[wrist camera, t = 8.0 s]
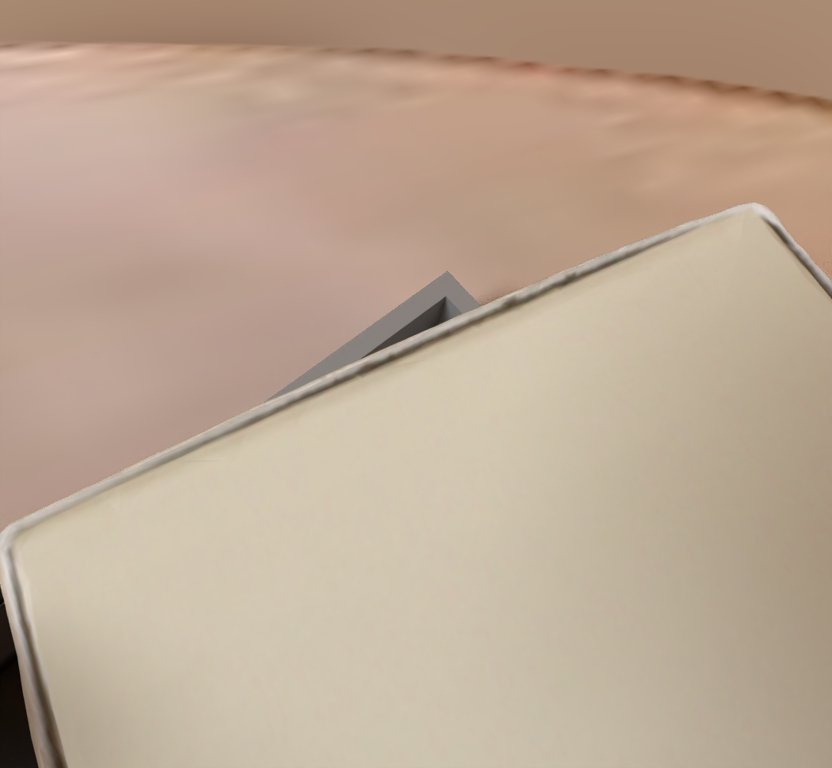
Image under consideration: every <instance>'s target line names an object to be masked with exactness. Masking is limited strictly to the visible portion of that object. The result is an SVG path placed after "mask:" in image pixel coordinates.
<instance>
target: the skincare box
mask: <svg viewBox="0 0 832 768" xmlns="http://www.w3.org/2000/svg"><path fill="white" fill-rule="evenodd" d="M0 585H1V590H2V594H3V598H4V602H5V606H6V611H7V615H8V619H9V623H10V628H11V632H12V636H13V640H14V644H15V648H16V652H17V656H18V662H19V669H20V676H21V683H22V689H23V695H24V700H25V705H26V711H27V716H28V722H29V727H30V732H31V738H32V742H33V746H34V750H35V754H36V759H37V763H38V767H39V768H832V281H831V280H830V279H829V277H828V276H827V275H826V274H825V273H824V272H823V271H822V270H821V269H820V268H819V267H818V266H817V265H816V264H815V263H814V262H813V261H812V259H811V258H810V257H809V255H808V254H807V253H806V252H805V251H804V250H803V249H802V248H801V247H800V246H799V245H798V244H797V243H796V242H795V240H794V239H793V238H792V237H791V235H790V234H789V233H788V232H787V230H786V229H785V227H784V226H783V225H782V223H781V222H780V220H779V219H778V217H777V216H776V215H775V214H774V213H773V212H772V211H771V210H770V209H769V208H768V207H767V206H765V205H762V204H758V203H755V202H751V203H746V204H741V205H736V206H733V207H731V208H728V209H725V210H723V211H720V212H717V213H715V214H712V215H709V216H707V217H703V218H700V219H697V220H693V221H690V222H686V223H684V224H682V225H679V226H677V227H675V228H672V229H669V230H667V231H664V232H662V233H659V234H656V235H654V236H651V237H648V238H645V239H642V240H639V241H636V242H634V243H631V244H629V245H626V246H624V247H622V248H619V249H617V250H615V251H612V252H609V253H606V254H603V255H601V256H598V257H596V258H594V259H591V260H589V261H586V262H584V263H582V264H579V265H577V266H574V267H572V268H569V269H565V270H563V271H560V272H558V273H556V274H554V275H552V276H549V277H547V278H545V279H543V280H541V281H538V282H536V283H533V284H531V285H529V286H526V287H524V288H522V289H519V290H517V291H515V292H512V293H510V294H507V295H505V296H503V297H500V298H498V299H496V300H494V301H492V302H490V303H488V304H486V305H484V306H481V307H479V308H476V309H474V310H471V311H469V312H466V313H464V314H461V315H459V316H456V317H454V318H452V319H450V320H448V321H446V322H444V323H442V324H440V325H437V326H435V327H433V328H430V329H428V330H426V331H423V332H421V333H419V334H416V335H414V336H412V337H410V338H407V339H405V340H403V341H401V342H398V343H396V344H394V345H391V346H389V347H387V348H385V349H382V350H380V351H378V352H376V353H373V354H371V355H369V356H367V357H364V358H362V359H360V360H358V361H355V362H353V363H351V364H349V365H347V366H344V367H342V368H340V369H338V370H335V371H333V372H331V373H329V374H327V375H324V376H322V377H320V378H318V379H316V380H314V381H312V382H309V383H307V384H305V385H303V386H301V387H299V388H297V389H295V390H292V391H290V392H288V393H286V394H283V395H281V396H279V397H276V398H274V399H272V400H270V401H267V402H265V403H263V404H261V405H259V406H256V407H254V408H252V409H250V410H248V411H245V412H243V413H241V414H239V415H237V416H235V417H233V418H231V419H229V420H227V421H224V422H222V423H220V424H218V425H216V426H214V427H212V428H210V429H208V430H206V431H204V432H202V433H200V434H198V435H196V436H194V437H192V438H190V439H188V440H186V441H184V442H181V443H179V444H177V445H174V446H172V447H169V448H167V449H164V450H162V451H160V452H158V453H156V454H154V455H152V456H150V457H148V458H146V459H144V460H142V461H140V462H138V463H136V464H134V465H132V466H130V467H128V468H126V469H124V470H122V471H120V472H118V473H116V474H114V475H112V476H110V477H107V478H105V479H103V480H101V481H99V482H97V483H95V484H93V485H91V486H88V487H86V488H84V489H82V490H80V491H78V492H76V493H74V494H72V495H70V496H67V497H65V498H63V499H61V500H59V501H57V502H55V503H53V504H51V505H48V506H46V507H44V508H42V509H40V510H38V511H36V512H33V513H31V514H29V515H27V516H25V517H22V518H20V519H18V520H16V521H14V522H12V523H11V524H10V525H9V526H7V527H6V528H5V529H4V530H3V531H2V532H1V533H0Z"/></svg>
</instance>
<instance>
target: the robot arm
mask: <svg viewBox="0 0 832 768" xmlns="http://www.w3.org/2000/svg"><path fill="white" fill-rule="evenodd" d="M0 768H39V767H38V763H37V759H36V754H35V750H34V746H33V742H32V738H31V732H30V727H29V722H28V716H27V711H26V705H25V700H24V695H23V689H22V683H21V676H20V669H19V662H18V656H17V652H16V648H15V644H14V640H13V636H12V632H11V628H10V623H9V619H8V615H7V611H6V606H5V602H4V598H3V594H2V590H1V585H0Z"/></svg>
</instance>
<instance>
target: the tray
mask: <svg viewBox="0 0 832 768" xmlns="http://www.w3.org/2000/svg"><path fill="white" fill-rule="evenodd" d="M479 307H481V306H480V305H479V304H478V303H477V301H476V300H475V299H474V298H473V297H472V296H471V295H470V294H469V293H468V292H467V291H466V290H465V289H464V288H463V287H462V286H461V285H460V283H459V282H458V281H457V280H456V279H455V278H454V277H453V276H452V275H451V274H450V273H449V272H448V271H447V272H445V273H444V274H443V275H441V276H440V277H438V278H437V279H436V280H434V281H433V282H431V283H430V284H429V285H427V286H426V287H425V288H423V289H422V290H420V291H419V292H418V293H416V294H415V295H413V296H412V297H411V298H409V299H408V300H406V301H405V302H404V303H402V304H401V305H399V306H398V307H397V308H395V309H394V310H392V311H391V312H390V313H388V314H387V315H385V316H384V317H383V318H381V319H380V320H378V321H377V322H376V323H374V324H373V325H372V326H370V327H369V328H367V329H366V330H365V331H363V332H362V333H360V334H359V335H358V336H356V337H355V338H353V339H352V340H351V341H349V342H348V343H346V344H345V345H344V346H342V347H341V348H339V349H338V350H337V351H335V352H334V353H332V354H331V355H330V356H328V357H327V358H325V359H324V360H323V361H321V362H320V363H319V364H317V365H316V366H314V367H313V368H312V369H310V370H309V371H307V372H306V373H305V374H303V375H302V376H300V377H299V378H298V379H296V380H295V381H293V382H292V383H291V384H289V385H288V386H286V387H285V388H284V389H282V390H281V391H279V392H278V393H277V394H275V395H274V396H272V397H271V398H270V399H268V400H267V401H270V400H272V399H274V398H276V397H279V396H281V395H283V394H286V393H288V392H290V391H292V390H295V389H297V388H299V387H301V386H303V385H305V384H307V383H309V382H312V381H314V380H316V379H318V378H320V377H322V376H324V375H327V374H329V373H331V372H333V371H335V370H338V369H340V368H342V367H344V366H347V365H349V364H351V363H353V362H355V361H358V360H360V359H362V358H364V357H367V356H369V355H371V354H373V353H376V352H378V351H380V350H382V349H385V348H387V347H389V346H391V345H394V344H396V343H398V342H401V341H403V340H405V339H407V338H410V337H412V336H414V335H416V334H419V333H421V332H423V331H426V330H428V329H430V328H433V327H435V326H437V325H440V324H442V323H444V322H446V321H448V320H450V319H452V318H454V317H456V316H459V315H461V314H464V313H466V312H469V311H471V310H474V309H476V308H479ZM267 401H266V402H267ZM264 403H265V402H264Z"/></svg>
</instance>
